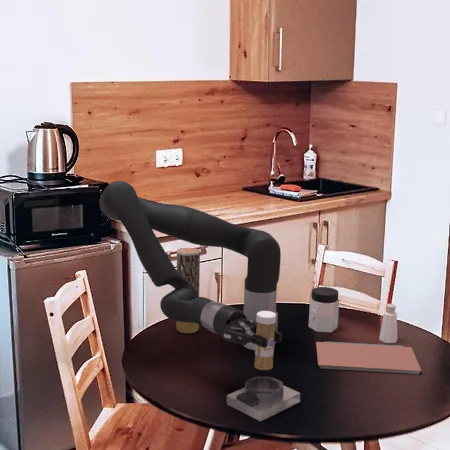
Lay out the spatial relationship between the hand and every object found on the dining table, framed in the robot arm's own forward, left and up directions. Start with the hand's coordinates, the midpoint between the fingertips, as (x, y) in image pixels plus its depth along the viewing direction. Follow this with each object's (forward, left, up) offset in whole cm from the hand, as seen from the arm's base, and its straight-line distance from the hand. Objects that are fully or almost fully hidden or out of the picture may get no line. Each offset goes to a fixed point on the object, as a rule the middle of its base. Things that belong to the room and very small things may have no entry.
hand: (273, 340), depth 163 cm
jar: (-50, -24, -17) cm, 58 cm away
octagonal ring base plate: (0, -3, -17) cm, 17 cm away
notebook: (-41, -1, -18) cm, 44 cm away
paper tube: (-17, -50, -17) cm, 55 cm away
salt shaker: (-57, -5, -17) cm, 60 cm away
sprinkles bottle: (0, -3, -8) cm, 8 cm away
